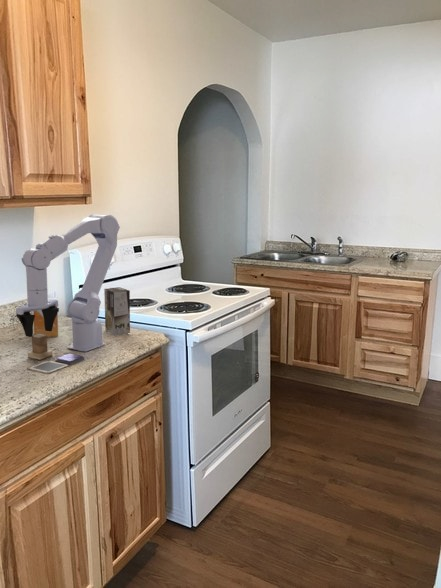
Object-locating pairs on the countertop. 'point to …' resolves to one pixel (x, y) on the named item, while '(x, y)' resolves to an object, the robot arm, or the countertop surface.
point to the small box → (39, 323)
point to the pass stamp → (39, 348)
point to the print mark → (48, 367)
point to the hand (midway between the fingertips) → (39, 333)
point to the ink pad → (69, 359)
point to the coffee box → (117, 311)
